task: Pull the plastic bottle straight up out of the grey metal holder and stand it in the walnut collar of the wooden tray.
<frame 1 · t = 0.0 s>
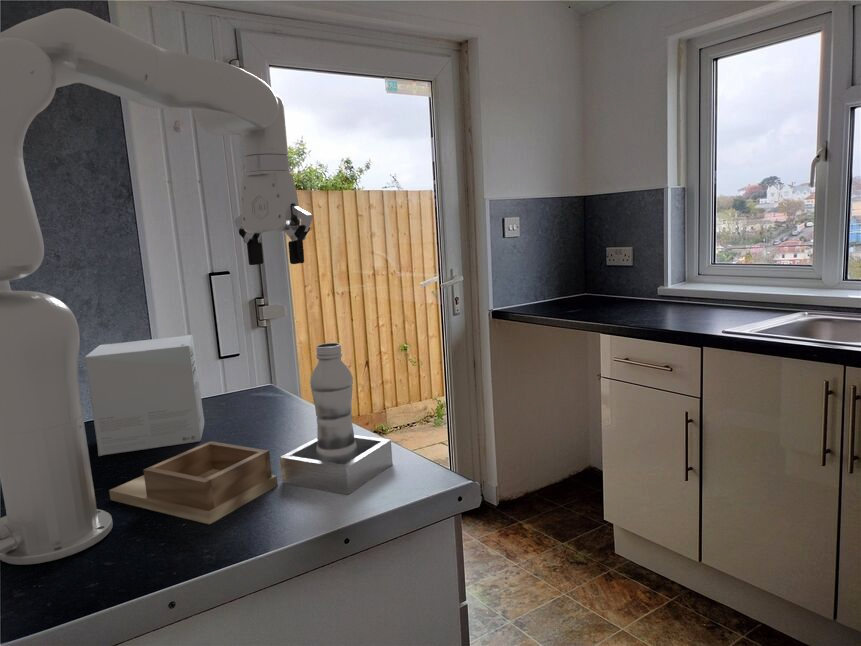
hand: (276, 264, 113), 31 cm above the counter, tool pointing down, fingers open, 9 cm apart
holder: (338, 473, 95), on the counter
supplement box: (155, 439, 117), on the counter
wooden tray: (212, 496, 90), on the counter
plastic bottle: (338, 474, 96), resting in holder
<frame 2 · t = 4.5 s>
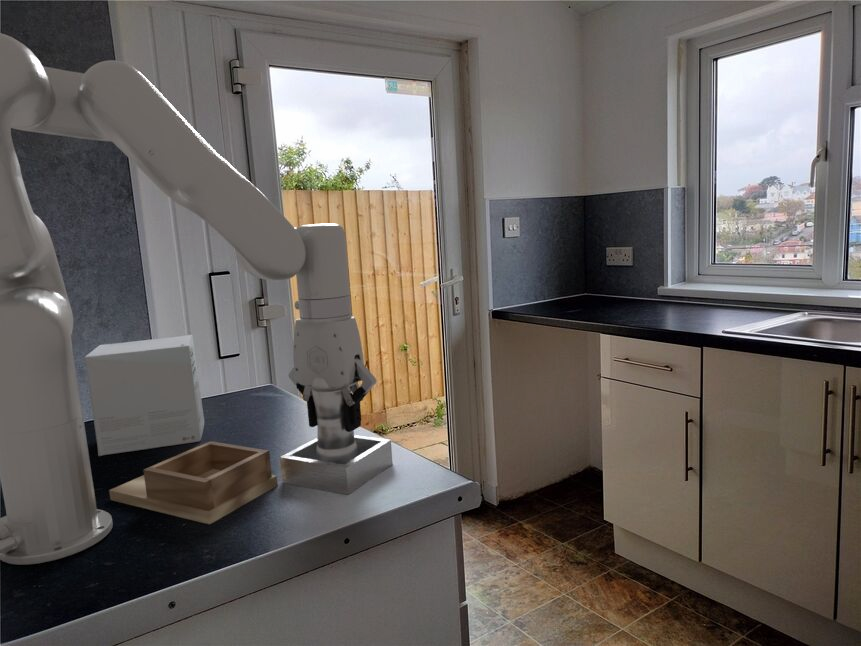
hand: (335, 425, 94), 8 cm above the counter, tool pointing down, fingers closed on plastic bottle, 6 cm apart
plastic bottle: (338, 474, 96), resting in holder, touching gripper
everything else where it was.
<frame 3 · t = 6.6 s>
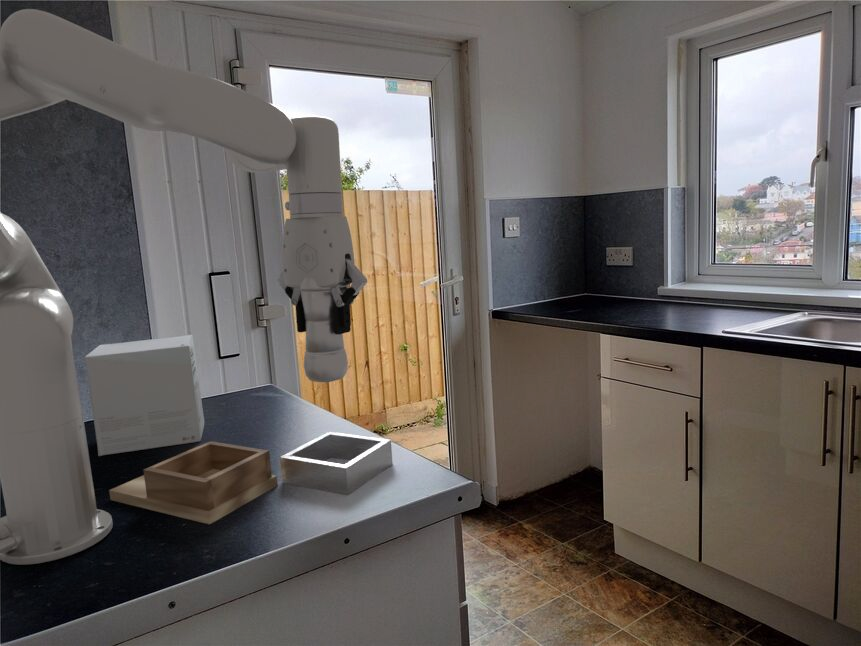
hand: (323, 330, 92), 22 cm above the counter, tool pointing down, fingers closed on plastic bottle, 6 cm apart
plastic bottle: (327, 382, 93), point 14 cm above the counter, touching gripper
everything else where it was.
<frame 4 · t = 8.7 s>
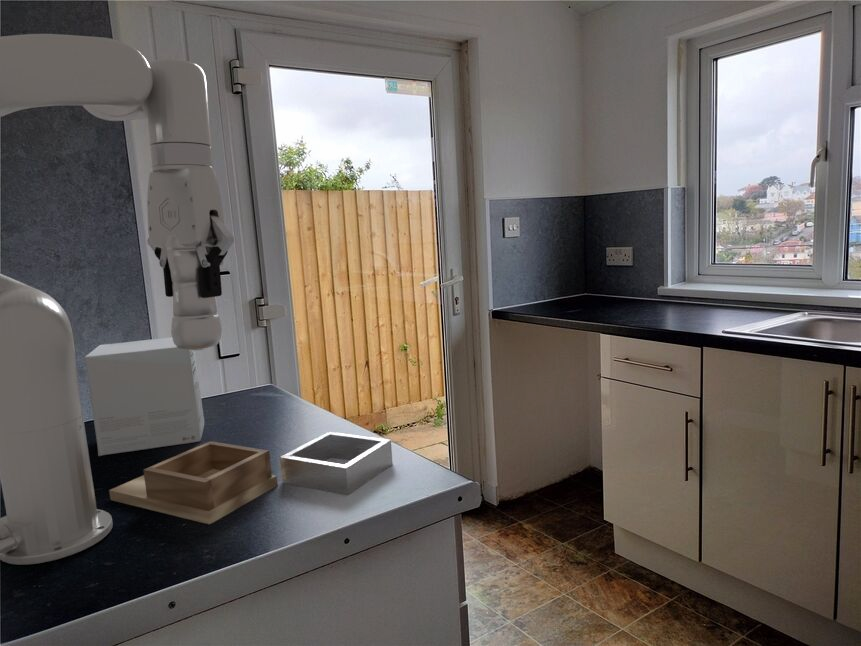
hand: (193, 295, 85), 29 cm above the counter, tool pointing down, fingers closed on plastic bottle, 6 cm apart
plastic bottle: (198, 350, 86), point 21 cm above the counter, touching gripper
everything else where it was.
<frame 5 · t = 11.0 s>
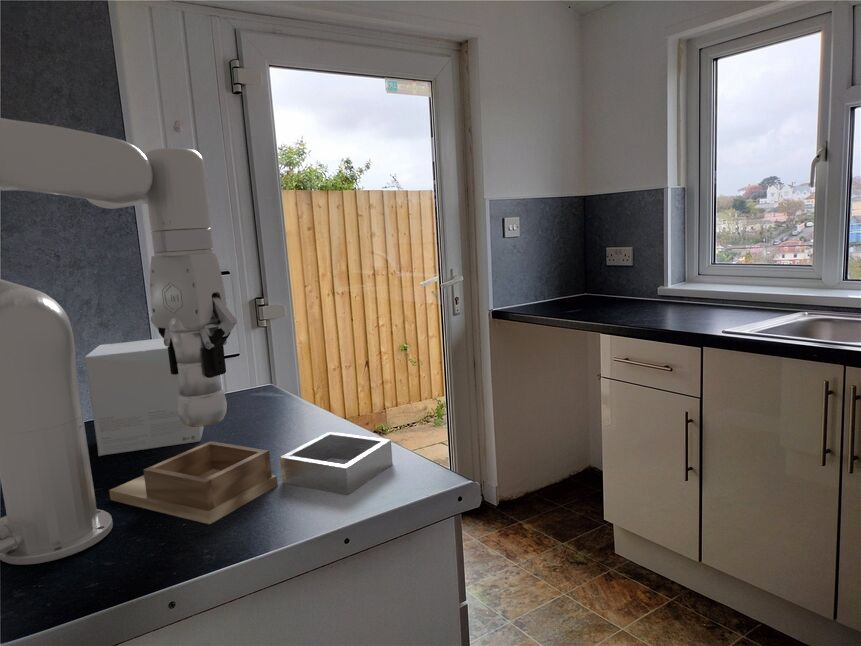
hand: (198, 372, 87), 18 cm above the counter, tool pointing down, fingers closed on plastic bottle, 6 cm apart
plastic bottle: (204, 425, 88), point 10 cm above the counter, touching gripper
everything else where it was.
when the fingers open (10 cm above the counter, at t = 13.1 s): plastic bottle stays where it is, resting on wooden tray.
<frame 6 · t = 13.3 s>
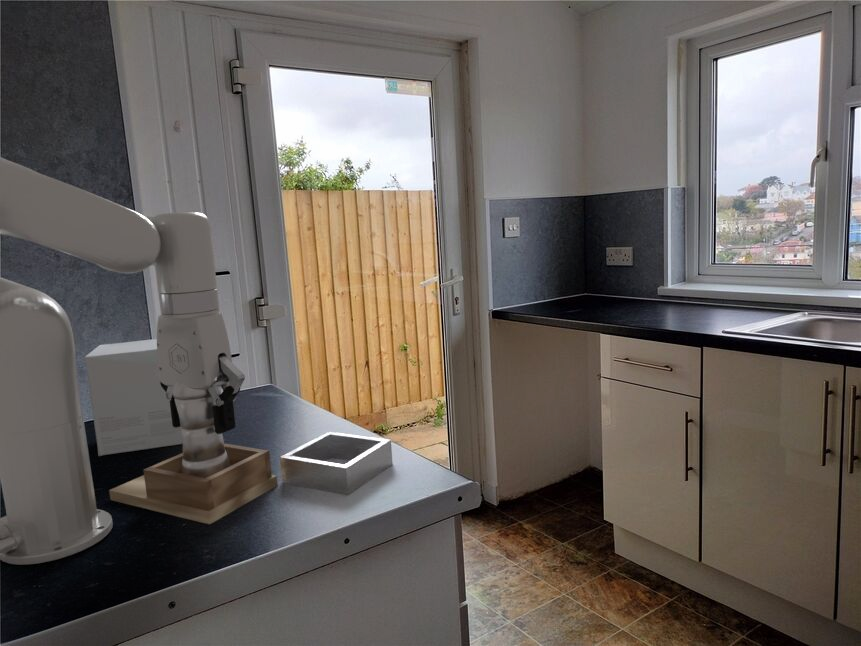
hand: (203, 427, 88), 10 cm above the counter, tool pointing down, fingers open, 7 cm apart
plastic bottle: (208, 487, 89), point 1 cm above the counter, touching wooden tray
everything else where it was.
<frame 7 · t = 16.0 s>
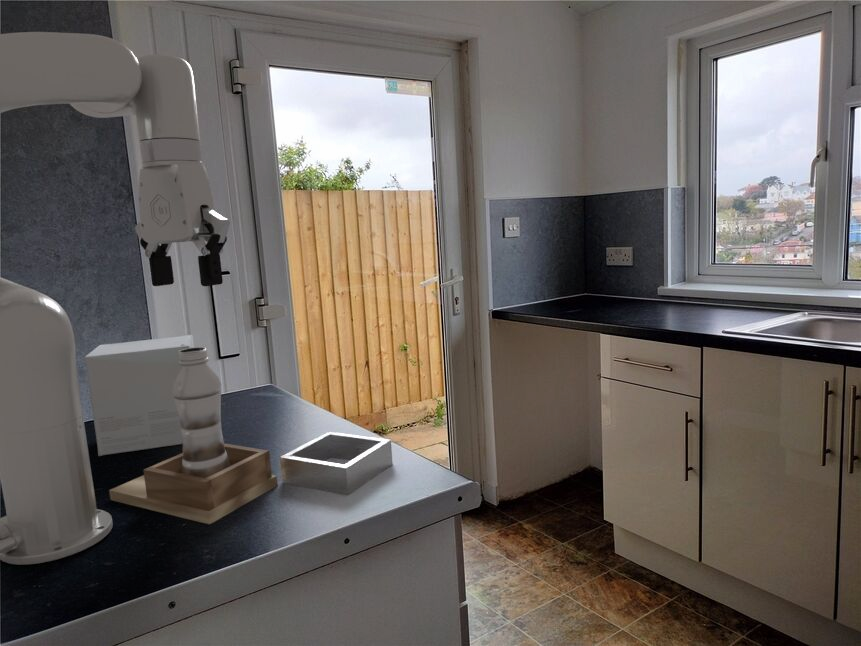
hand: (187, 285, 85), 30 cm above the counter, tool pointing down, fingers open, 9 cm apart
nothing on the counter moved.
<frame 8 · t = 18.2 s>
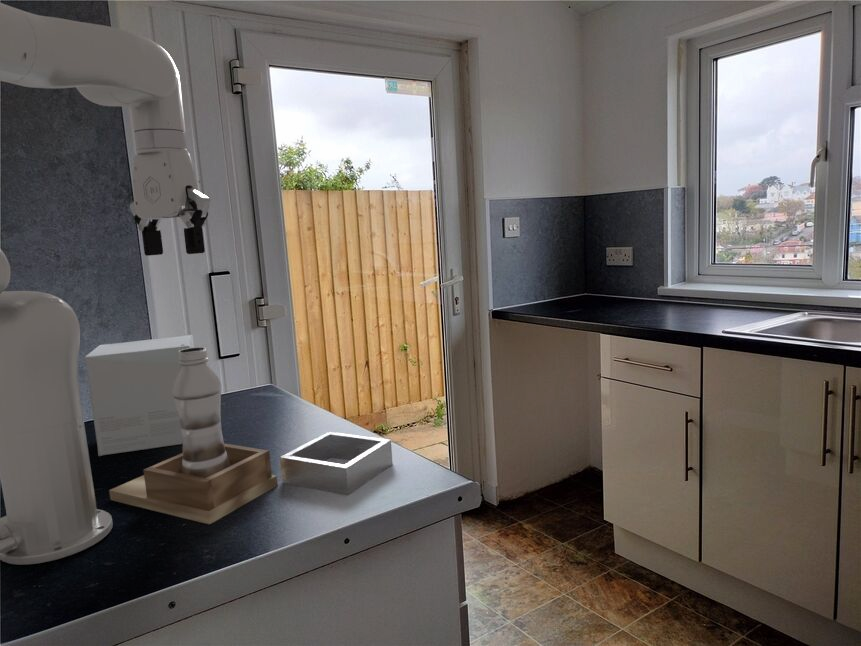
hand: (174, 254, 101), 34 cm above the counter, tool pointing down, fingers open, 9 cm apart
nothing on the counter moved.
at the end: plastic bottle 0.4 cm off-centre on the wooden tray, point 1.3 cm above the wooden tray's base; plastic bottle tilted 0°; the gripper is holding nothing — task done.
